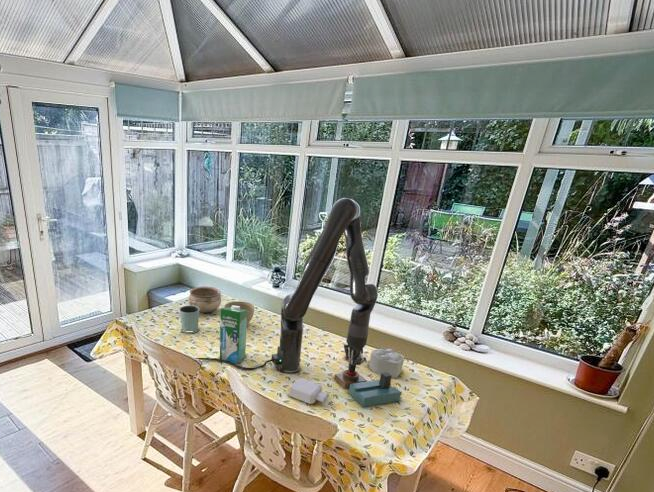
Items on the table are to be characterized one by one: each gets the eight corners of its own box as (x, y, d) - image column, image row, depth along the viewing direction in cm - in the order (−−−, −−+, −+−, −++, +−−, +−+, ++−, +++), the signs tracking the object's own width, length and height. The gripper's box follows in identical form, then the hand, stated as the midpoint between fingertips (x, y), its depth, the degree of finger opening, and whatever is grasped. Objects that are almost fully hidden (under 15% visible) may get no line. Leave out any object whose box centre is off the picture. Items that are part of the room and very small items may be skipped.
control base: (363, 407, 154) (365, 396, 152) (348, 392, 162) (350, 382, 161) (399, 400, 158) (401, 390, 156) (383, 387, 166) (385, 377, 165)
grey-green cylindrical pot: (203, 329, 216) (203, 307, 212) (191, 335, 208) (191, 314, 204) (187, 324, 221) (187, 303, 217) (176, 331, 213) (175, 309, 209)
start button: (349, 377, 167) (350, 373, 166) (345, 373, 170) (346, 369, 169) (356, 376, 168) (357, 372, 167) (352, 372, 170) (352, 368, 170)
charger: (325, 411, 151) (288, 396, 159) (335, 399, 158) (299, 386, 166) (326, 400, 149) (289, 386, 157) (336, 389, 156) (300, 376, 164)
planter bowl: (234, 317, 232) (235, 299, 228) (259, 324, 223) (260, 305, 219) (217, 326, 220) (218, 307, 216) (243, 334, 211) (244, 314, 207)
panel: (344, 388, 165) (345, 379, 164) (334, 378, 172) (335, 370, 171) (366, 385, 168) (367, 376, 166) (355, 375, 175) (356, 367, 173)
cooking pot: (208, 301, 254) (208, 282, 249) (231, 309, 242) (231, 290, 237) (178, 312, 237) (177, 292, 233) (200, 321, 225) (200, 300, 221)
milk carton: (245, 355, 190) (247, 305, 180) (238, 363, 182) (239, 311, 173) (227, 351, 194) (228, 301, 184) (219, 359, 186) (220, 308, 176)
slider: (382, 391, 158) (385, 376, 156) (378, 387, 161) (381, 372, 158) (389, 390, 159) (391, 375, 156) (384, 386, 161) (387, 371, 159)
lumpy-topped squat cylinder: (395, 379, 172) (399, 361, 169) (365, 369, 179) (368, 351, 176) (403, 369, 179) (406, 352, 176) (373, 360, 187) (376, 343, 183)
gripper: (340, 327, 166) (335, 364, 173) (358, 341, 154) (351, 380, 161) (357, 325, 168) (350, 362, 174) (376, 339, 156) (368, 378, 163)
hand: (351, 371), depth 168 cm, fingers closed
